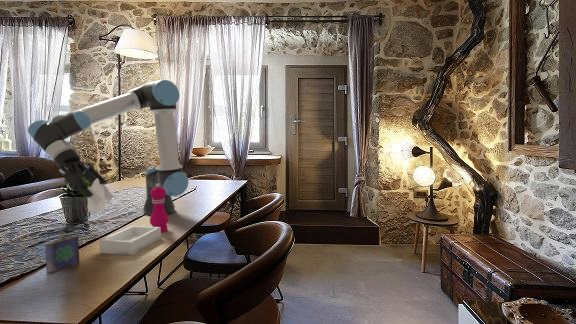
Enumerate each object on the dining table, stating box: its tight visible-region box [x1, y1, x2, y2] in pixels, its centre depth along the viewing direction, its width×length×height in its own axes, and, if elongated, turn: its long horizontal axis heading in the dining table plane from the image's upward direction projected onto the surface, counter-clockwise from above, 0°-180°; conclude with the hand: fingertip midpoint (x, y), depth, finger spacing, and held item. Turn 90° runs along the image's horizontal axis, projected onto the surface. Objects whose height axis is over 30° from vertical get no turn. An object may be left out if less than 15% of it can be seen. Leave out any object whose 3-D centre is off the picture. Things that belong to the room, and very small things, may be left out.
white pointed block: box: [87, 178, 106, 213], centre depth 124 cm, size 6×12×6 cm
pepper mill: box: [149, 183, 169, 234], centre depth 140 cm, size 7×7×20 cm
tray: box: [99, 225, 162, 256], centre depth 123 cm, size 18×12×4 cm, turn 170°
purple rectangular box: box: [44, 232, 80, 275], centre depth 103 cm, size 9×3×11 cm, turn 151°
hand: (105, 200), depth 123 cm, fingers closed on white pointed block, 6 cm apart
